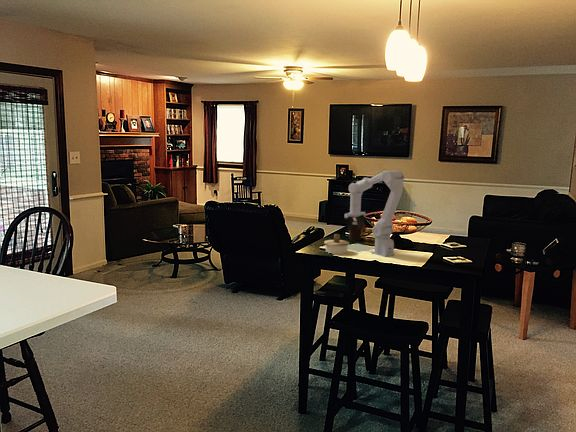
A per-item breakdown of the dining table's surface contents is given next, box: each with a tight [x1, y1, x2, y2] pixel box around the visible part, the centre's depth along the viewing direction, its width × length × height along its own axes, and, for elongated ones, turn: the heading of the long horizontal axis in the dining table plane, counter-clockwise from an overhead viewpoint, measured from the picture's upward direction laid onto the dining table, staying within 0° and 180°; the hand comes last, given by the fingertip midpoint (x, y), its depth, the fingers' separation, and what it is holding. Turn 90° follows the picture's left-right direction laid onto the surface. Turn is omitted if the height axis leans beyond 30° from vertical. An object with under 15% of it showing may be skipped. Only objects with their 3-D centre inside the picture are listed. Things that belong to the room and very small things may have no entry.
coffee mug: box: [348, 222, 363, 242], centre depth 291 cm, size 12×9×10 cm
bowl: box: [325, 244, 348, 255], centre depth 258 cm, size 11×11×4 cm
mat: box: [347, 243, 375, 253], centre depth 269 cm, size 15×15×1 cm
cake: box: [352, 215, 366, 235], centre depth 309 cm, size 11×9×18 cm
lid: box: [323, 233, 350, 246], centre depth 257 cm, size 13×13×5 cm
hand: (354, 229), depth 269 cm, fingers open, 7 cm apart
